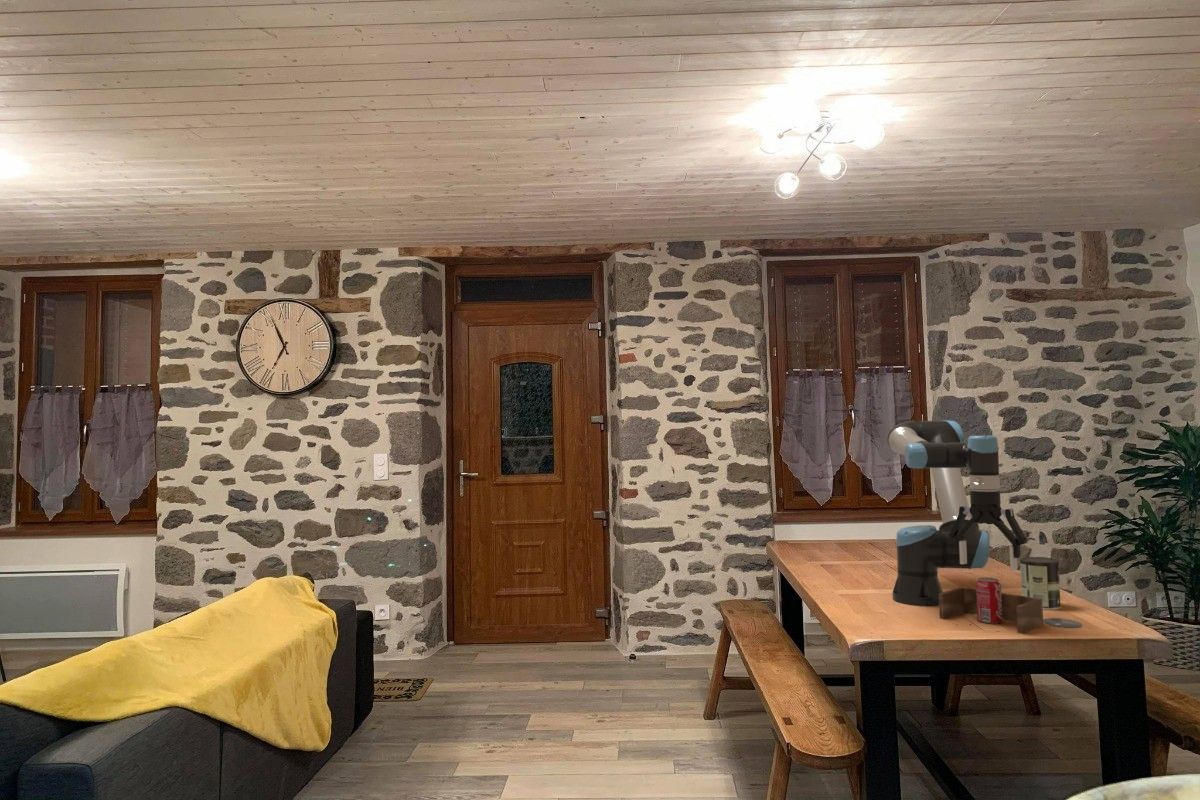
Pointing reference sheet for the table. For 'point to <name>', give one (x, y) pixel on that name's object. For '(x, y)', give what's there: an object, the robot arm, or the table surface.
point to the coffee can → (1041, 580)
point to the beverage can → (989, 600)
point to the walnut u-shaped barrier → (1013, 607)
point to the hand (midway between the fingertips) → (988, 566)
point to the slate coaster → (1062, 623)
